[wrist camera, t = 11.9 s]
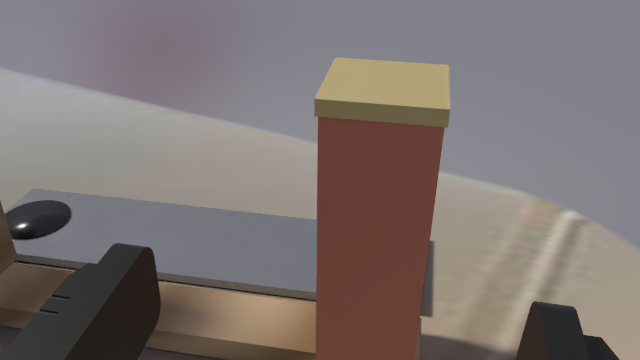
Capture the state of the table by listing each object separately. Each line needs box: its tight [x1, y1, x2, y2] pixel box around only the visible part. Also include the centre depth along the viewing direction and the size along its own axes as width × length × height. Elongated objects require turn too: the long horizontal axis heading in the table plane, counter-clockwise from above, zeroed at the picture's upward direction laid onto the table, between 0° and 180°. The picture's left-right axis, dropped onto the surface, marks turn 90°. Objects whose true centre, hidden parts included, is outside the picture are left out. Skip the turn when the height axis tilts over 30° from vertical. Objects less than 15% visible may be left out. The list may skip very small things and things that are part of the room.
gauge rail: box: [0, 202, 421, 360], centre depth 25 cm, size 25×4×13 cm, turn 80°
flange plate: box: [4, 189, 317, 300], centre depth 33 cm, size 25×6×1 cm, turn 80°
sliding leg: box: [315, 58, 450, 360], centre depth 23 cm, size 4×4×12 cm
